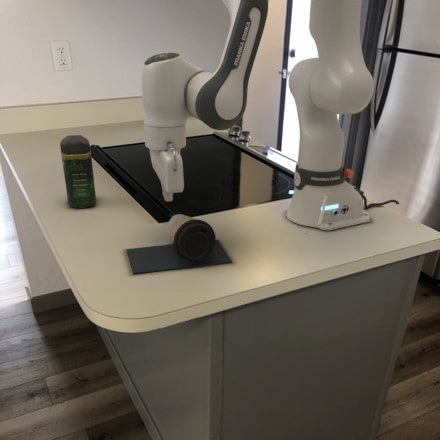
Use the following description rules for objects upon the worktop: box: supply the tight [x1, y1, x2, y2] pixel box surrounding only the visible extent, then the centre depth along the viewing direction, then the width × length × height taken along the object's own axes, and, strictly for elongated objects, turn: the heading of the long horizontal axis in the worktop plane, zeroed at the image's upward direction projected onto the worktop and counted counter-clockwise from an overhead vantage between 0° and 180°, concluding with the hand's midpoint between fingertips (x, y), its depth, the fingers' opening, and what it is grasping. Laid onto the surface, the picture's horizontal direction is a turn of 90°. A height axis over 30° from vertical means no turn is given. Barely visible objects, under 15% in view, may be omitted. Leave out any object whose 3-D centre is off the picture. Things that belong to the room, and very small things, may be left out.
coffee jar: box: [59, 134, 97, 209], centre depth 135 cm, size 10×8×19 cm
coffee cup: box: [167, 213, 217, 262], centre depth 111 cm, size 9×9×15 cm
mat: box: [126, 239, 233, 275], centre depth 111 cm, size 22×12×1 cm, turn 106°
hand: (167, 199), depth 111 cm, fingers closed
